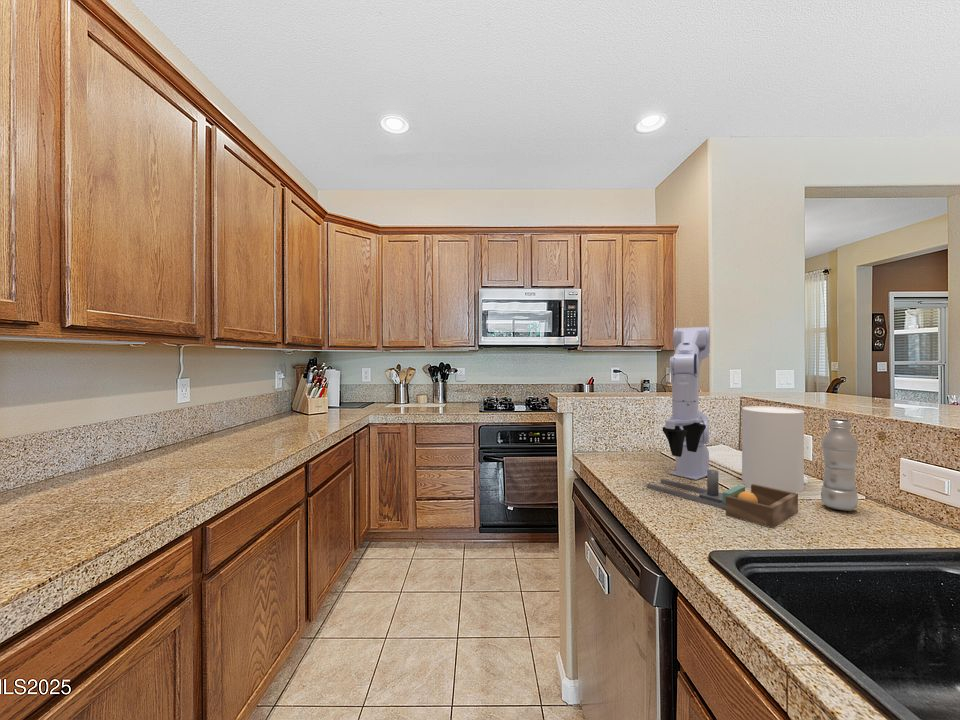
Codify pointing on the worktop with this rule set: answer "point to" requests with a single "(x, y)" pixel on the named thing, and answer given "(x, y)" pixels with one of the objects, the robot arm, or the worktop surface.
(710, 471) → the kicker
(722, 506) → the guide rails
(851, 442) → the plastic bottle
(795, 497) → the box
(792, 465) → the canister
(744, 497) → the ball
